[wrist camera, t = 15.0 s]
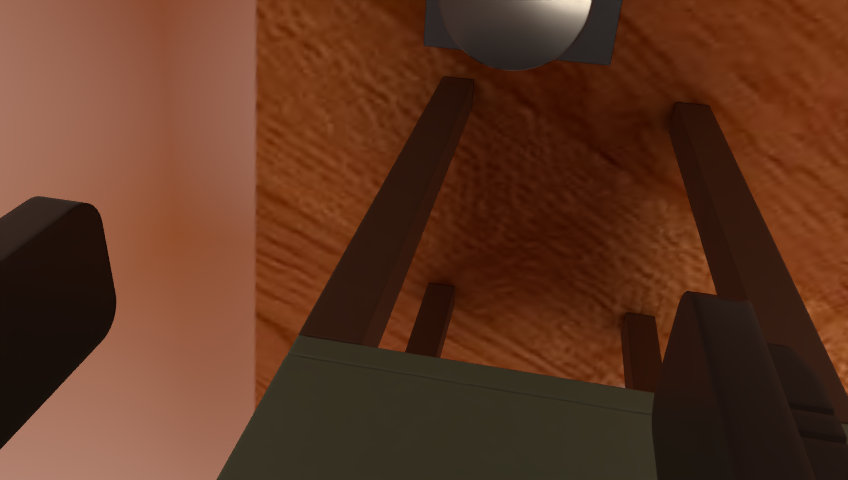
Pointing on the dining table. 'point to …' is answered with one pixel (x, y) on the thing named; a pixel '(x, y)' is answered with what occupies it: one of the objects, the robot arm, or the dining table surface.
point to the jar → (515, 29)
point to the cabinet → (485, 385)
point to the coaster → (586, 49)
